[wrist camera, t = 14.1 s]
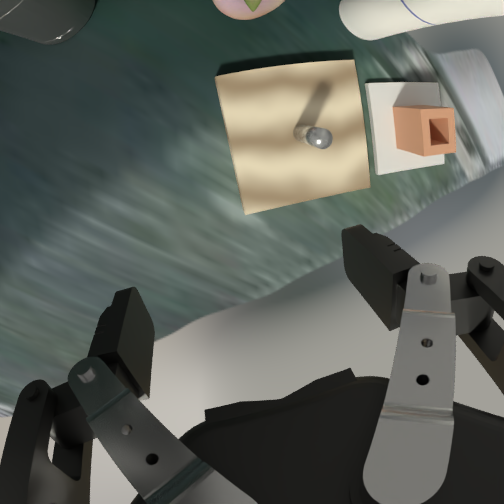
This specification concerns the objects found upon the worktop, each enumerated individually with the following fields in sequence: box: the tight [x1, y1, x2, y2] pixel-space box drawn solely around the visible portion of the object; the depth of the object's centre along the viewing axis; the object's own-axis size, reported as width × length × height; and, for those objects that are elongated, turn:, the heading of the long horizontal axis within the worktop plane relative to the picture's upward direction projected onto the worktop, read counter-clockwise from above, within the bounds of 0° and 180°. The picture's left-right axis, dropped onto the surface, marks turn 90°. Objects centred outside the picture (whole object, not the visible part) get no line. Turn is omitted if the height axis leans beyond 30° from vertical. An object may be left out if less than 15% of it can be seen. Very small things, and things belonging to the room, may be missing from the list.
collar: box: [392, 105, 456, 157], centre depth 34 cm, size 6×6×6 cm
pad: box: [365, 82, 444, 175], centre depth 37 cm, size 12×12×1 cm
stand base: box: [215, 60, 370, 215], centre depth 35 cm, size 16×16×2 cm
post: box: [293, 124, 333, 149], centre depth 31 cm, size 2×2×6 cm
